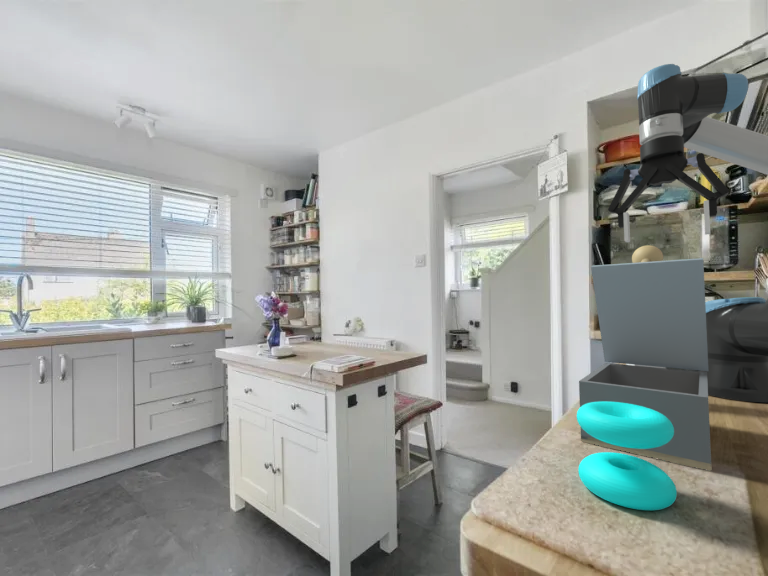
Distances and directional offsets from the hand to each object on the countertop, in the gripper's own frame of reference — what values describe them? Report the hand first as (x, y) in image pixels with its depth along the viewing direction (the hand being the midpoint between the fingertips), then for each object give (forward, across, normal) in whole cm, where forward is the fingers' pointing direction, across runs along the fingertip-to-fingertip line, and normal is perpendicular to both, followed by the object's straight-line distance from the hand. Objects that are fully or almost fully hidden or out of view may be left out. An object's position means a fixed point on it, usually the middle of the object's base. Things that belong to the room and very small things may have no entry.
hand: (665, 237), depth 76 cm
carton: (+37, -2, -20) cm, 42 cm away
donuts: (+37, -2, -45) cm, 58 cm away
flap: (+16, -2, -14) cm, 22 cm away
